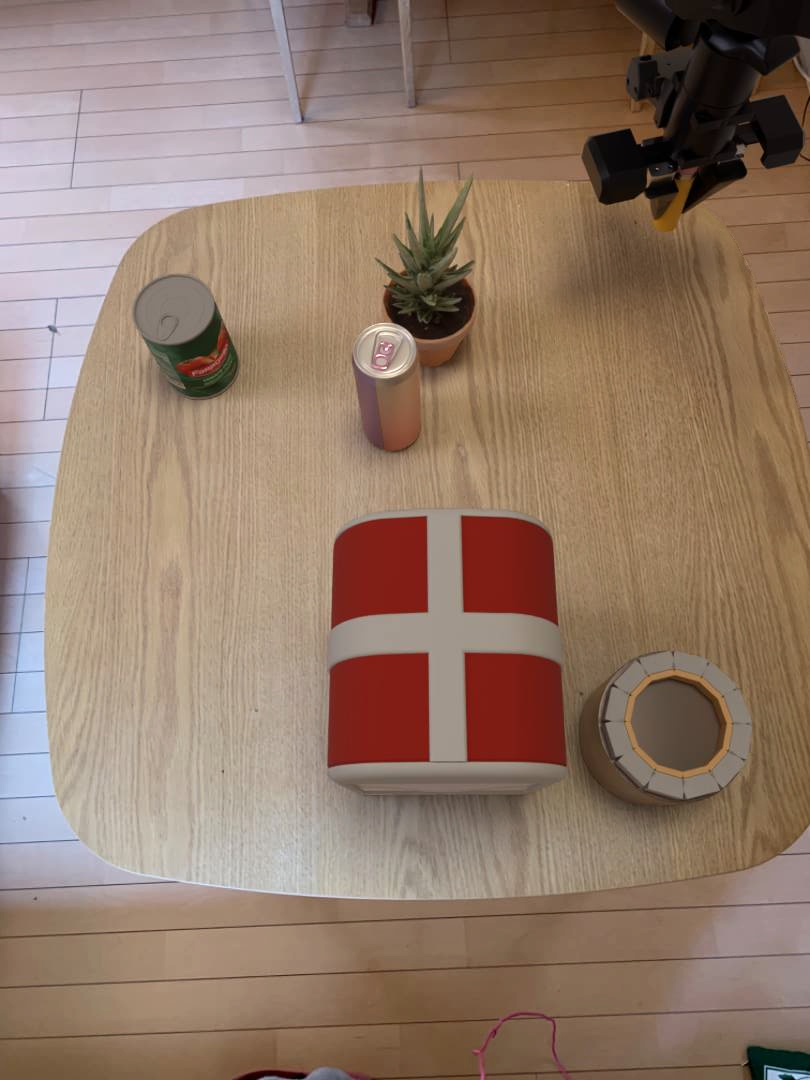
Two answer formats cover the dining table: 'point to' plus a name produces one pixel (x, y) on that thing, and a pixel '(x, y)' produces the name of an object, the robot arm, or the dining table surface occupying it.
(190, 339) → the canned tomato
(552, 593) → the red gift box
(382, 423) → the beverage can
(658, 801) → the brown cylindrical pot
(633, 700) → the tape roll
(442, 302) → the potted plant
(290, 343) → the dining table surface
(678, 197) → the pencil
